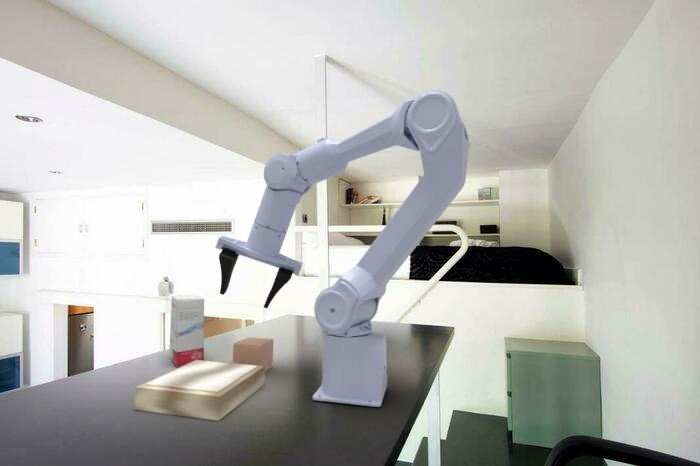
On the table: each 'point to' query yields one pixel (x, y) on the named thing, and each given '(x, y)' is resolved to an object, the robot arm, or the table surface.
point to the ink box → (187, 329)
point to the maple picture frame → (200, 389)
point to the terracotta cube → (254, 352)
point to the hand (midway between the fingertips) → (244, 299)
